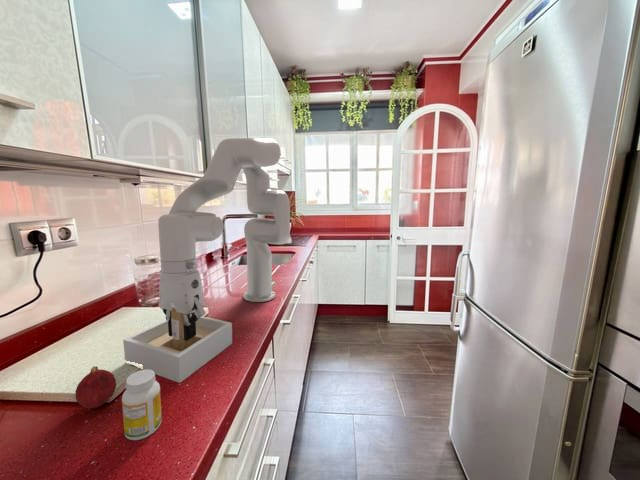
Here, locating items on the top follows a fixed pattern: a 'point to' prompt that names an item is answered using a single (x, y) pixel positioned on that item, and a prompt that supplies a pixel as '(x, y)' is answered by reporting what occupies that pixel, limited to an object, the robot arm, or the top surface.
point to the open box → (172, 364)
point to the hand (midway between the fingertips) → (182, 335)
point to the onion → (95, 388)
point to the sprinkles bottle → (179, 330)
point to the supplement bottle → (141, 405)
